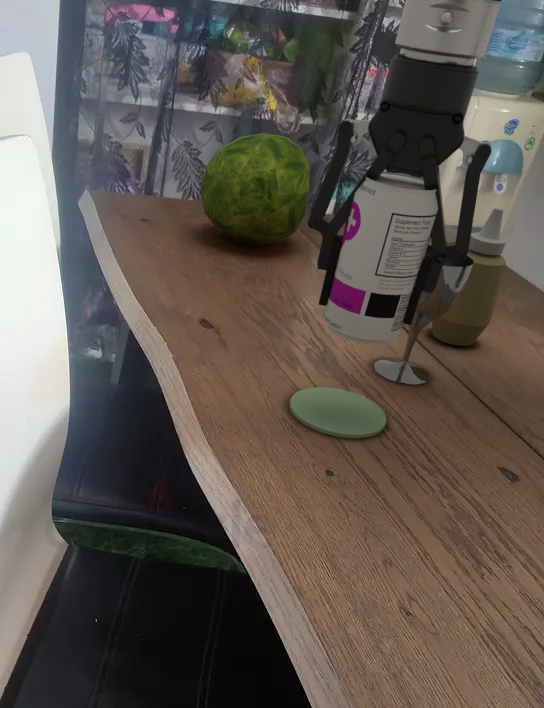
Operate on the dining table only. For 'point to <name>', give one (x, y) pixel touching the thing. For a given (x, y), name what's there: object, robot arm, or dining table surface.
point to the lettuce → (257, 189)
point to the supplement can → (380, 258)
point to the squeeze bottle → (476, 287)
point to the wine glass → (428, 318)
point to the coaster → (337, 412)
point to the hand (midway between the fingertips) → (365, 310)
